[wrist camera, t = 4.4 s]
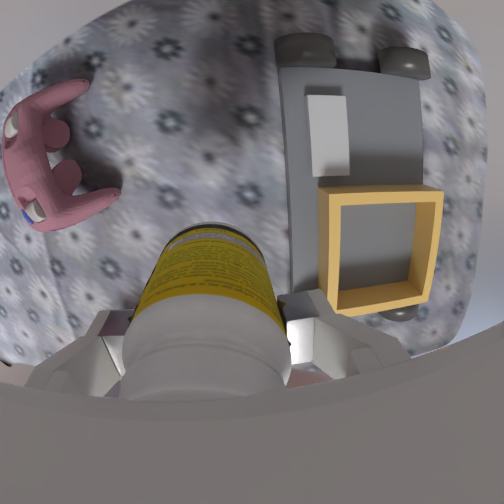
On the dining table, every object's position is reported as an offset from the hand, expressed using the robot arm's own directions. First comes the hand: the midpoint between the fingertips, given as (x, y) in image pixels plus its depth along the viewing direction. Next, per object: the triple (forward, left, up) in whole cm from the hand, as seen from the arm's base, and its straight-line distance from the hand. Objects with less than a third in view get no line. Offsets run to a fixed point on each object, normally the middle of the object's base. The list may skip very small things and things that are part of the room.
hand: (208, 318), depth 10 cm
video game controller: (-10, +7, -11) cm, 17 cm away
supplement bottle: (0, 0, -4) cm, 4 cm away
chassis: (+10, +2, -11) cm, 15 cm away
